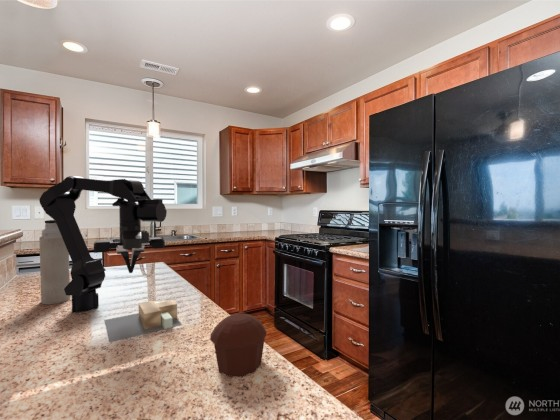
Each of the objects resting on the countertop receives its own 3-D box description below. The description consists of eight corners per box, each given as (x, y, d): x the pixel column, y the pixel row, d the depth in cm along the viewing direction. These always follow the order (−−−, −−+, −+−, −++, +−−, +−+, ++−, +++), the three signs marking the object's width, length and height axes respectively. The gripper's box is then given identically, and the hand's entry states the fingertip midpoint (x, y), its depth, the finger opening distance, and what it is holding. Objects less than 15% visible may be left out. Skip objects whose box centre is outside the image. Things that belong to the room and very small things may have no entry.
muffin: (241, 345, 69) (241, 303, 69) (277, 361, 62) (277, 314, 62) (198, 368, 60) (198, 319, 60) (235, 389, 53) (235, 334, 52)
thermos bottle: (59, 295, 107) (57, 219, 106) (75, 298, 104) (73, 219, 104) (35, 302, 99) (33, 220, 99) (51, 305, 97) (49, 220, 96)
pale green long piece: (164, 329, 76) (164, 319, 76) (152, 310, 90) (151, 302, 90) (172, 327, 78) (172, 317, 77) (158, 309, 91) (158, 301, 91)
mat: (109, 345, 69) (109, 342, 69) (104, 322, 83) (104, 320, 83) (182, 327, 79) (182, 324, 79) (167, 309, 92) (167, 307, 92)
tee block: (144, 329, 76) (144, 314, 76) (138, 316, 85) (138, 303, 85) (180, 321, 81) (179, 306, 81) (171, 310, 90) (170, 297, 90)
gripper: (92, 224, 77) (93, 283, 77) (168, 222, 86) (168, 274, 87) (93, 221, 86) (94, 274, 87) (161, 219, 96) (161, 267, 96)
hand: (130, 272), depth 89 cm, fingers closed
